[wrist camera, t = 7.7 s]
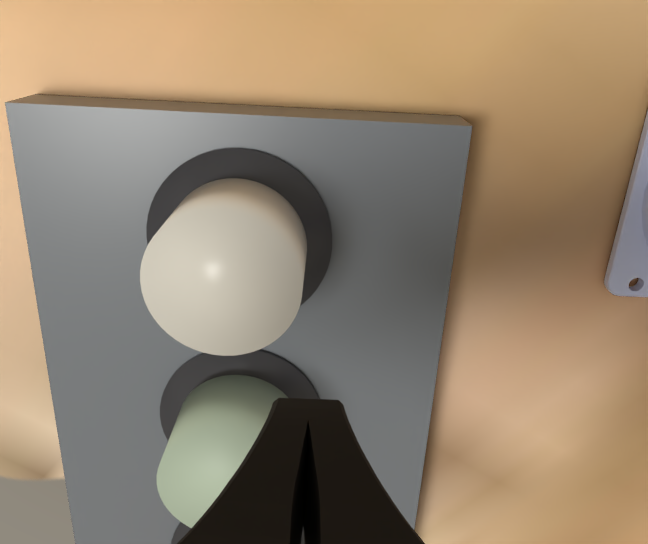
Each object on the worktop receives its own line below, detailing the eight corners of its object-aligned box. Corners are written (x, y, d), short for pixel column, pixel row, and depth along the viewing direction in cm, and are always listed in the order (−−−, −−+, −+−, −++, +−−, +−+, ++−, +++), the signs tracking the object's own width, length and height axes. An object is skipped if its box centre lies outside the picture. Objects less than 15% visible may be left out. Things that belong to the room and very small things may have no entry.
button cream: (309, 181, 18) (305, 211, 15) (304, 311, 20) (300, 359, 17) (164, 174, 18) (133, 203, 15) (172, 304, 20) (145, 351, 17)
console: (459, 115, 20) (473, 127, 18) (396, 586, 28) (400, 630, 26) (35, 94, 20) (1, 103, 18) (102, 572, 28) (84, 616, 26)
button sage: (301, 378, 21) (297, 433, 18) (298, 476, 23) (293, 540, 20) (176, 371, 21) (151, 426, 18) (181, 470, 23) (160, 534, 20)
